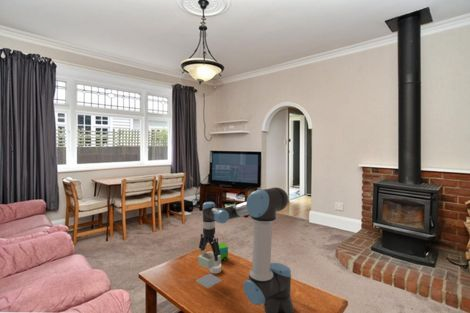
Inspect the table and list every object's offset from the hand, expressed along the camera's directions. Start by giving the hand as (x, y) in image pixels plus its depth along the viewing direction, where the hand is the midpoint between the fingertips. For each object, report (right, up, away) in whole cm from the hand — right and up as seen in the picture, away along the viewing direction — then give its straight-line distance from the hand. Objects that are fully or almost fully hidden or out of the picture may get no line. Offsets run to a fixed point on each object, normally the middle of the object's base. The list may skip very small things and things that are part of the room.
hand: (209, 262), depth 155 cm
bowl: (+3, -11, +13) cm, 17 cm away
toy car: (+3, -10, +30) cm, 31 cm away
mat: (0, -12, +1) cm, 12 cm away
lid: (0, 0, 0) cm, 0 cm away
